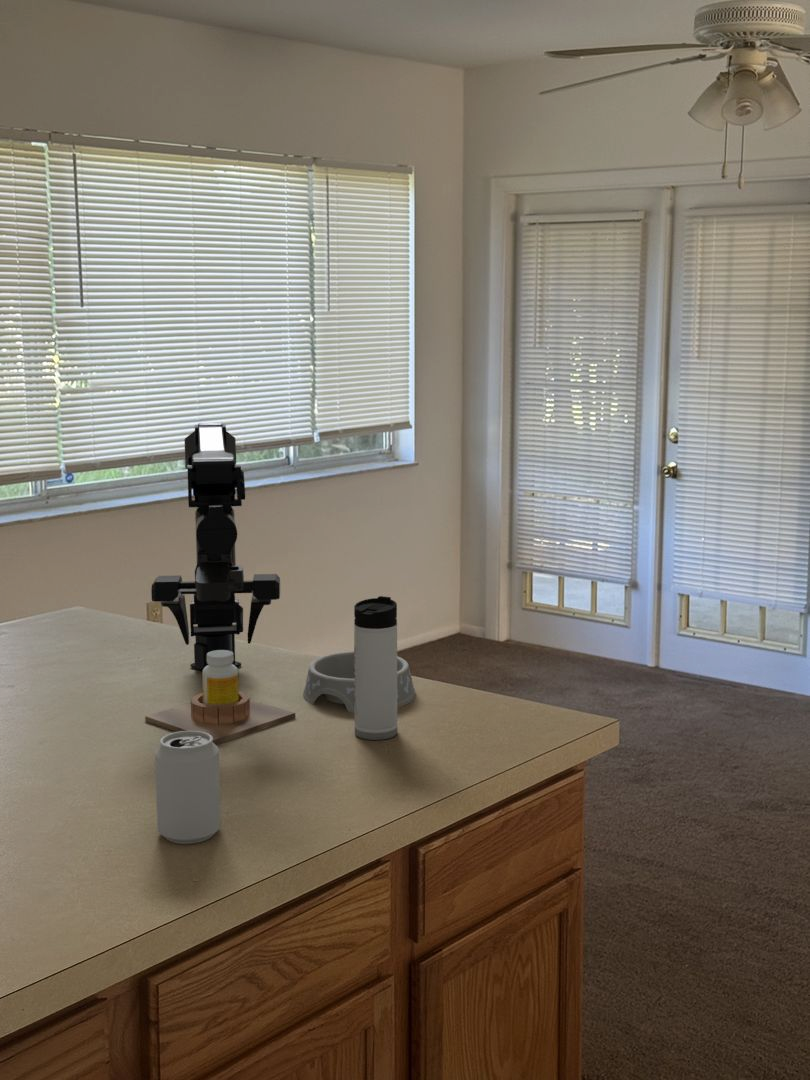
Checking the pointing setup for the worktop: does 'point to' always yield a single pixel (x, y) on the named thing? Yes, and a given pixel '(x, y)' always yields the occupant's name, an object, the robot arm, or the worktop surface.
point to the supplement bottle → (220, 679)
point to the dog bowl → (348, 680)
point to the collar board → (221, 730)
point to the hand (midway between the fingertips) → (218, 643)
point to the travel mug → (375, 668)
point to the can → (187, 787)
